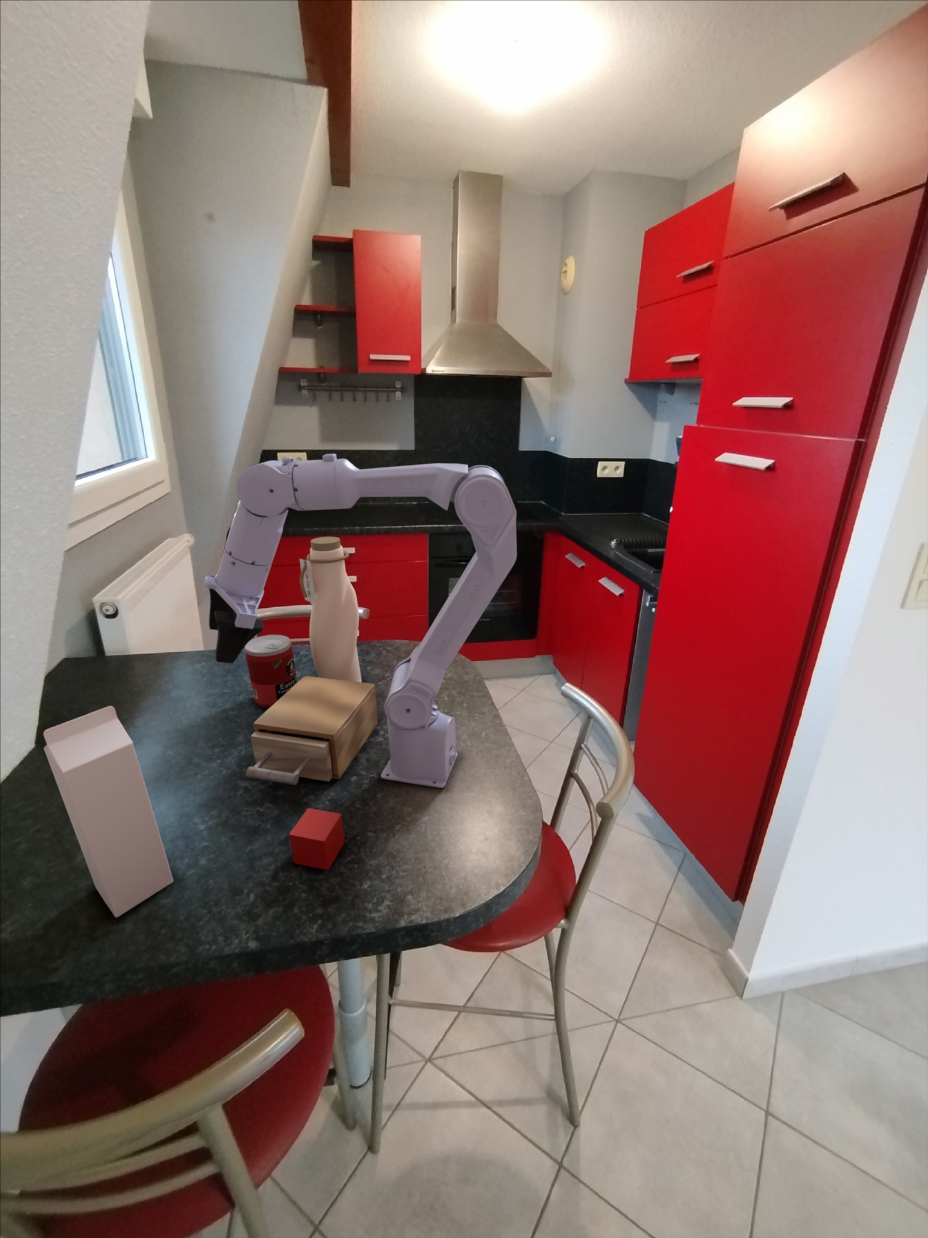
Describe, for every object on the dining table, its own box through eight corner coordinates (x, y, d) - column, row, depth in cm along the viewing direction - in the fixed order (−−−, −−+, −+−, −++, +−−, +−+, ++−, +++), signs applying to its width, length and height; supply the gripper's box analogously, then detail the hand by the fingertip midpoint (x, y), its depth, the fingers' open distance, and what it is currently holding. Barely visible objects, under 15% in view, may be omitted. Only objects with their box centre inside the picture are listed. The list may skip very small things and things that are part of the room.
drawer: (311, 805, 70) (306, 769, 67) (235, 792, 72) (228, 757, 70) (367, 727, 86) (364, 696, 84) (304, 719, 89) (299, 688, 86)
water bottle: (338, 703, 95) (320, 551, 84) (302, 690, 99) (281, 544, 88) (374, 678, 103) (363, 537, 92) (339, 668, 107) (324, 532, 97)
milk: (174, 882, 60) (126, 715, 51) (115, 920, 55) (52, 744, 47) (151, 855, 63) (103, 694, 55) (94, 888, 59) (32, 719, 51)
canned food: (286, 711, 93) (277, 654, 88) (245, 706, 94) (234, 650, 90) (306, 689, 100) (299, 636, 95) (268, 685, 101) (259, 632, 97)
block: (344, 842, 65) (341, 813, 63) (328, 870, 61) (323, 841, 59) (312, 835, 66) (308, 807, 64) (293, 863, 62) (288, 834, 60)
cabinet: (339, 779, 76) (333, 734, 73) (260, 767, 78) (252, 723, 76) (378, 723, 89) (374, 683, 86) (309, 714, 92) (304, 675, 89)
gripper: (208, 523, 69) (183, 611, 74) (222, 575, 58) (192, 674, 63) (263, 536, 73) (236, 619, 78) (285, 587, 63) (253, 678, 67)
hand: (220, 644), depth 71 cm, fingers open, 7 cm apart
